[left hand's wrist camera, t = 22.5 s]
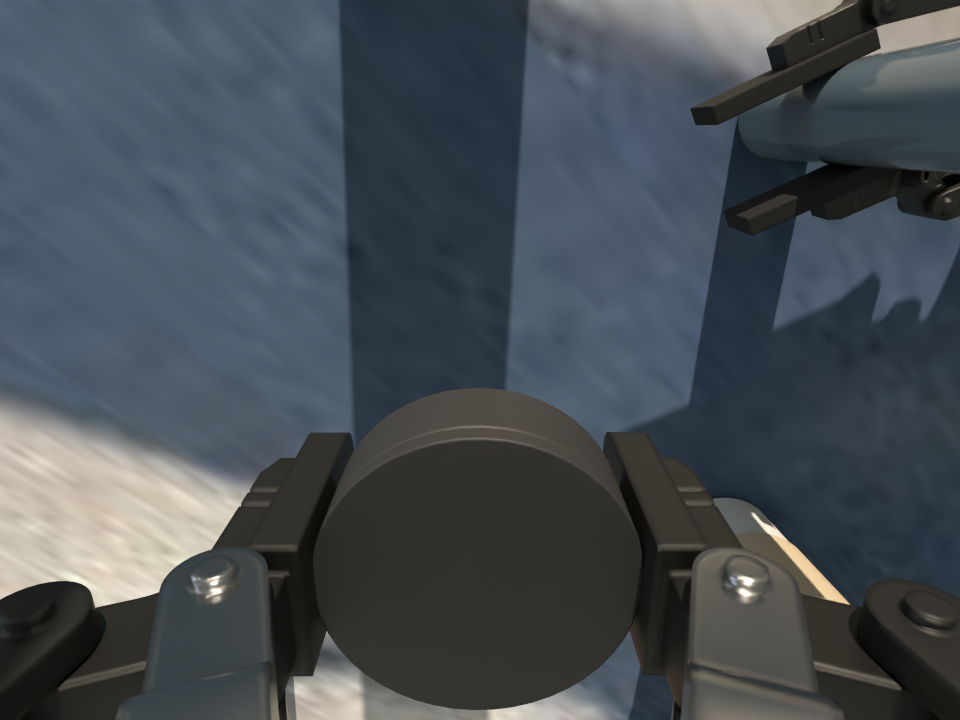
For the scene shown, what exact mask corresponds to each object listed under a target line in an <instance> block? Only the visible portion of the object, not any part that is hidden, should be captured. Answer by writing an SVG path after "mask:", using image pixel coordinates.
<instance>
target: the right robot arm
mask: <svg viewBox="0 0 960 720" xmlns="http://www.w3.org/2000/svg"><path fill="white" fill-rule="evenodd" d="M957 6H960V0H843V2H842V3H841V4H840V5H839V6H837V7H836V8H835V9H834V10H833V11H831V12H829V13H826V14H824V15H822V16H820V17H818V18H816V19H814V20H812V21H810V22H808V23H806V24H804V25H802V26H800V27H798V28H795V29H793V30H792V31H789V32H787V33H785V34H783V35H781V36H779V37H777V38H776V39H775V40H774V41H773V42H772V43H771V44H770V45H769V46H768V47H767V48H766V49H767V53H768V56H769V60H770V64H771V67H772V70H770V71H768V72H766V73H764V74H762V75H760V76H758V77H756V78H753V79H751V80H749V81H747V82H745V83H743V84H741V85H739V86H737V87H735V88H732V89H730V90H728V91H726V92H724V93H722V94H720V95H718V96H716V97H714V98H711V99H709V100H707V101H705V102H703V103H701V104H699V105H697V106H695V107H693V108H691V112H692V115H693V118H694V121H695V124H696V125H718V124H720V123H723V122H725V121H727V120H729V119H731V118H733V117H735V116H737V115H740V114H742V113H744V112H746V111H748V110H750V109H752V108H754V107H757V106H759V105H761V104H763V103H765V102H767V101H769V100H772V99H774V98H776V97H778V96H780V95H782V94H784V93H786V92H789V91H791V90H793V89H795V88H797V87H799V86H801V85H803V84H806V83H808V82H810V81H812V80H814V79H816V78H818V77H820V76H823V75H825V74H827V73H829V72H831V71H833V70H835V69H838V68H840V67H842V66H844V65H846V64H848V63H850V62H852V61H855V60H857V59H859V58H861V57H863V56H865V55H867V54H869V53H872V52H874V51H876V50H878V49H880V48H881V47H880V42H879V38H878V33H877V29H874V28H876V27H878V26H881V25H884V24H888V23H892V22H897V21H901V20H905V19H909V18H913V17H917V16H921V15H925V14H929V13H933V12H937V11H941V10H945V9H949V8H953V7H957ZM893 196H895V197H896V198H897V199H898V203H897V206H898V208H899V210H900V211H902V212H903V213H907V214H912V215H916V216H921V217H926V218H931V219H938V220H943V221H946V220H950V219H953V218H955V217H958V216H960V174H953V173H941V172H928V171H915V170H903V169H890V168H877V167H865V166H852V165H840V164H828V165H826V166H823V167H821V168H819V169H817V170H815V171H812V172H810V173H808V174H806V175H803V176H801V177H799V178H797V179H794V180H792V181H790V182H788V183H785V184H783V185H781V186H779V187H777V188H774V189H772V190H770V191H768V192H765V193H763V194H761V195H759V196H756V197H754V198H752V199H750V200H748V201H745V202H743V203H741V204H739V205H736V206H734V207H732V208H730V209H727V210H725V211H724V214H725V217H726V220H727V223H728V226H730V227H732V228H735V229H737V230H740V231H742V232H745V233H747V234H750V235H754V234H757V233H759V232H761V231H764V230H766V229H768V228H770V227H773V226H775V225H777V224H779V223H782V222H784V221H786V220H789V219H791V218H793V217H795V216H798V215H800V214H802V213H805V212H807V211H809V210H811V213H812V216H816V217H820V218H823V219H827V220H834V219H842V218H845V217H847V216H849V215H852V214H853V213H856V212H859V211H861V210H863V209H865V208H868V207H870V206H872V205H875V204H877V203H879V202H882V201H884V200H886V199H889V198H891V197H893Z"/></svg>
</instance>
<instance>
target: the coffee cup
mask: <svg viewBox="0 0 960 720" xmlns="http://www.w3.org/2000/svg"><path fill="white" fill-rule="evenodd" d="M713 500H714V502H715V506H717V507H718V508H719V510H720V512H721V513H722V515H723V516H724V518H725V520H726V521H727V523H728V524H729V526H730V528H731V529H732V531H733V532H734V534H735V535H736V537H737V539H738V540H739V542H740V543H741V545H742V547H743V548H744V549H747V550H751V551H754V552H757V553H760V554H763V555H765V556H767V557H769V558H771V559H773V560H775V561H776V562H778V563H779V564H781V565H782V566H784V567H785V568H786V569H787V570H788V571H789V572H790V573H791V574H792V575H793V576H794V578H795V579H796V581H797V582H798V584H799V587H800V591H801V593H802V594H805V595H809V596H813V597H817V598H821V599H826V600H831V601H835V602H840V603H844V604H849V603H848V602H847V601H846V600H845V599H844V598H843V596H842V595H841V594H840V593H839V592H838V591H837V590H836V589H835V588H834V587H833V586H832V585H831V584H830V583H829V582H828V580H827V579H826V578H825V577H824V576H823V575H822V574H821V573H820V572H819V571H818V570H817V569H816V568H815V567H814V566H813V565H812V563H811V562H810V561H809V560H808V559H807V558H806V557H805V556H804V555H803V554H802V553H801V552H800V551H799V550H798V549H797V548H796V547H795V546H794V545H793V544H791V543H790V542H788V540H787V539H786V538H785V537H784V536H783V535H782V534H781V533H780V532H779V531H778V529H777V528H776V527H775V526H774V525H773V524H772V523H771V522H770V521H769V520H768V518H767V517H766V516H765V515H764V514H763V513H762V512H761V511H760V510H759V509H758V508H756V507H755V506H753V505H752V504H750V503H748V502H745V501H742V500H739V499H734V498H715V499H713ZM849 605H850V604H849Z"/></svg>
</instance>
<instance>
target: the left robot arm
mask: <svg viewBox="0 0 960 720" xmlns="http://www.w3.org/2000/svg"><path fill="white" fill-rule="evenodd" d="M353 451H354V449H353V440H352V436H351V434H350V433H310V434H309V435H308V437H307V439H306V440H305V442H304V444H303V446H302V448H301V449H300V451H299V453H298V455H297V456H296V458H281V459H279V460H278V461H276V462H275V463H274V464H272V465H271V466H269V467H268V468H266V469H265V470H264V471H262V472H261V473H260V475H259V476H258V478H257V479H256V481H255V482H254V484H253V486H252V487H251V489H250V493H247V495H246V496H245V498H244V500H243V501H242V503H241V507H238V509H237V511H236V512H235V514H234V515H233V517H232V518H231V520H230V522H229V523H228V525H227V526H226V528H225V529H224V531H223V533H222V534H221V536H220V537H219V539H218V540H217V542H216V543H215V545H214V547H213V548H212V550H209V551H206V552H203V553H200V554H197V555H195V556H193V557H191V558H189V559H187V560H185V561H184V562H182V563H181V564H179V565H178V566H176V567H175V568H174V569H173V570H172V571H171V572H170V573H169V574H168V575H167V576H166V578H165V579H164V581H163V582H162V584H161V587H160V591H159V593H156V594H153V595H150V596H146V597H142V598H138V599H134V600H129V601H125V602H120V603H115V604H111V605H106V606H102V607H97V608H95V605H94V602H93V598H92V595H91V592H90V590H89V589H88V588H87V587H85V586H84V585H82V584H79V583H76V582H69V581H56V582H48V583H43V584H38V585H35V586H32V587H28V588H25V589H23V590H20V591H17V592H15V593H13V594H11V595H8V596H6V597H4V598H3V599H1V600H0V720H289V714H288V706H287V699H286V692H285V688H286V686H287V683H288V680H289V677H290V676H313V673H314V670H315V667H316V664H317V660H318V657H319V654H320V650H321V647H322V644H323V641H324V637H325V634H326V631H327V630H326V628H325V626H324V624H323V622H322V619H321V617H320V615H319V611H318V605H317V597H316V588H315V579H314V569H313V554H314V548H315V544H316V541H317V538H318V535H319V532H320V529H321V526H322V524H323V521H324V519H325V516H326V514H327V511H328V509H329V506H330V504H331V501H332V499H333V496H334V494H335V491H336V489H337V486H338V484H339V481H340V479H341V476H342V474H343V471H344V469H345V466H346V465H347V463H348V461H349V459H350V457H351V455H352V453H353ZM603 453H604V455H605V456H606V458H607V459H608V462H609V464H610V466H611V469H612V471H613V473H614V476H615V478H616V481H617V483H618V486H619V488H620V491H621V493H622V496H623V498H624V501H625V504H626V506H627V509H628V511H629V514H630V516H631V519H632V522H633V524H634V526H635V529H636V532H637V534H638V537H639V541H640V545H641V549H642V552H643V569H642V579H641V588H640V597H639V605H638V612H637V614H636V617H635V619H634V622H633V624H632V626H631V628H630V629H629V630H630V633H631V636H632V640H633V643H634V646H635V650H636V653H637V656H638V660H639V663H640V666H641V670H642V673H643V675H666V677H667V680H668V683H669V686H670V689H671V692H672V695H673V698H674V699H673V706H672V713H671V720H960V599H958V598H956V597H955V596H953V595H951V594H949V593H947V592H944V591H942V590H940V589H937V588H935V587H932V586H929V585H926V584H922V583H918V582H914V581H908V580H900V579H890V580H882V581H879V582H876V583H874V584H873V585H871V586H870V587H869V588H868V589H867V592H866V595H865V598H864V602H863V606H862V607H858V606H854V605H849V604H844V603H840V602H835V601H831V600H826V599H821V598H817V597H813V596H809V595H805V594H802V593H801V591H800V587H799V584H798V582H797V581H796V579H795V578H794V576H793V575H792V574H791V573H790V572H789V571H788V570H787V569H786V568H785V567H784V566H782V565H781V564H779V563H778V562H776V561H775V560H773V559H771V558H769V557H767V556H765V555H763V554H760V553H757V552H754V551H751V550H747V549H744V548H743V547H742V545H741V543H740V542H739V540H738V539H737V537H736V535H735V534H734V532H733V531H732V529H731V528H730V526H729V524H728V523H727V521H726V520H725V518H724V516H723V515H722V513H721V512H720V510H719V508H718V507H717V506H715V502H714V500H713V499H712V497H711V496H710V494H709V493H708V492H706V488H705V486H704V485H703V483H702V481H701V480H700V478H699V477H698V475H697V473H696V472H695V471H694V470H692V469H691V468H689V467H688V466H687V465H685V464H684V463H682V462H681V461H680V460H678V459H677V458H661V457H660V455H659V454H658V452H657V450H656V448H655V446H654V444H653V443H652V441H651V439H650V437H649V435H648V434H647V433H646V432H607V433H606V435H605V439H604V446H603Z"/></svg>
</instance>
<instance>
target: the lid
mask: <svg viewBox="0 0 960 720" xmlns="http://www.w3.org/2000/svg"><path fill="white" fill-rule="evenodd" d="M313 569H314V579H315V588H316V597H317V605H318V611H319V615H320V617H321V619H322V622H323V624H324V626H325V628H326V630H327V632H328V633H329V635H330V636H331V638H332V639H333V641H334V642H335V644H336V645H337V647H338V648H339V649H340V650H341V651H342V652H343V654H344V655H345V656H346V657H347V658H348V659H349V660H350V661H351V662H352V663H353V664H354V665H355V666H357V667H358V668H359V669H360V670H361V671H362V672H363V673H365V674H366V675H368V676H369V677H371V678H372V679H374V680H375V681H377V682H378V683H379V684H381V685H383V686H385V687H387V688H389V689H391V690H393V691H395V692H397V693H399V694H401V695H404V696H406V697H409V698H412V699H414V700H417V701H421V702H424V703H428V704H432V705H436V706H442V707H448V708H454V709H467V710H490V709H501V708H509V707H515V706H519V705H524V704H528V703H532V702H535V701H538V700H541V699H544V698H547V697H550V696H552V695H555V694H557V693H559V692H561V691H563V690H566V689H568V688H569V687H571V686H573V685H574V684H576V683H578V682H579V681H581V680H583V679H584V678H586V677H587V676H588V675H590V674H591V673H592V672H594V671H595V670H596V669H597V668H599V667H600V666H601V665H602V664H603V663H604V662H605V661H606V660H607V659H608V658H609V657H610V656H611V655H612V654H613V653H614V651H615V650H616V649H617V648H618V646H619V645H620V644H621V642H622V641H623V640H624V638H625V636H626V635H627V633H628V631H629V629H630V628H631V626H632V624H633V622H634V619H635V617H636V614H637V612H638V605H639V597H640V588H641V579H642V569H643V552H642V549H641V545H640V541H639V537H638V534H637V532H636V529H635V526H634V524H633V522H632V519H631V516H630V514H629V511H628V509H627V506H626V504H625V501H624V498H623V496H622V493H621V491H620V488H619V486H618V483H617V481H616V478H615V476H614V473H613V471H612V469H611V466H610V464H609V462H608V459H607V458H606V456H605V455H604V453H603V451H602V450H601V448H600V447H599V445H598V444H597V443H596V441H595V440H594V439H593V438H592V437H591V435H590V434H589V433H588V432H587V431H586V430H585V429H584V428H583V427H582V426H580V425H579V424H578V423H577V422H576V421H575V420H574V419H572V418H571V417H569V416H568V415H566V414H565V413H563V412H562V411H560V410H559V409H557V408H555V407H553V406H551V405H549V404H547V403H545V402H543V401H541V400H539V399H536V398H533V397H530V396H527V395H524V394H521V393H516V392H511V391H507V390H501V389H490V388H464V389H457V390H450V391H444V392H440V393H436V394H433V395H429V396H426V397H423V398H420V399H418V400H416V401H413V402H411V403H409V404H406V405H405V406H403V407H401V408H400V409H398V410H396V411H394V412H393V413H391V414H389V415H388V416H387V417H386V418H384V419H383V420H382V421H381V422H379V423H378V424H377V425H375V426H374V427H373V428H372V430H371V431H370V432H369V433H368V434H367V435H366V436H365V437H364V438H363V439H362V440H361V442H360V443H359V445H358V446H357V447H356V449H355V450H354V451H353V453H352V455H351V457H350V459H349V461H348V463H347V465H346V466H345V469H344V471H343V474H342V476H341V479H340V481H339V484H338V486H337V489H336V491H335V494H334V496H333V499H332V501H331V504H330V506H329V509H328V511H327V514H326V516H325V519H324V521H323V524H322V526H321V529H320V532H319V535H318V538H317V541H316V544H315V548H314V554H313Z"/></svg>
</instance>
